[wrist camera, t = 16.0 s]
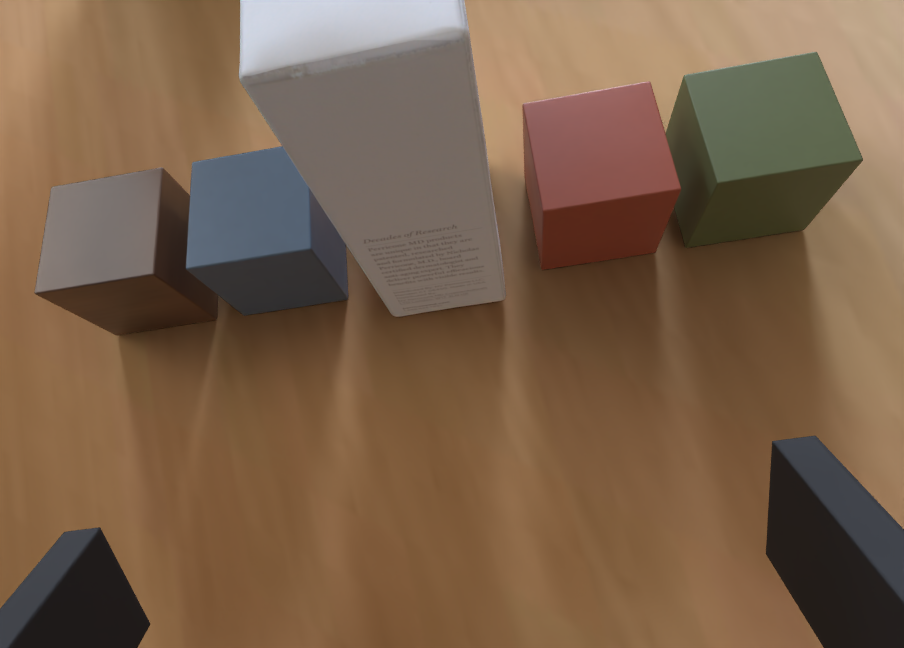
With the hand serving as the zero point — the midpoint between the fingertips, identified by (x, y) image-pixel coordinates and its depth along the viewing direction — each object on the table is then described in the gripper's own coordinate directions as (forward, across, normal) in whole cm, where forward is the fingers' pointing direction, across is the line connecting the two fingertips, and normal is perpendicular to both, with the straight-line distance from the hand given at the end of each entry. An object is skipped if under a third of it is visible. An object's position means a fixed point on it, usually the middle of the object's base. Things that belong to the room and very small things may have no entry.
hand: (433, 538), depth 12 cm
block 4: (+12, +11, +3) cm, 17 cm away
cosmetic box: (+12, 0, +2) cm, 13 cm away
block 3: (+12, +6, +3) cm, 14 cm away
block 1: (+12, -10, +3) cm, 16 cm away
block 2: (+12, -5, +3) cm, 14 cm away
